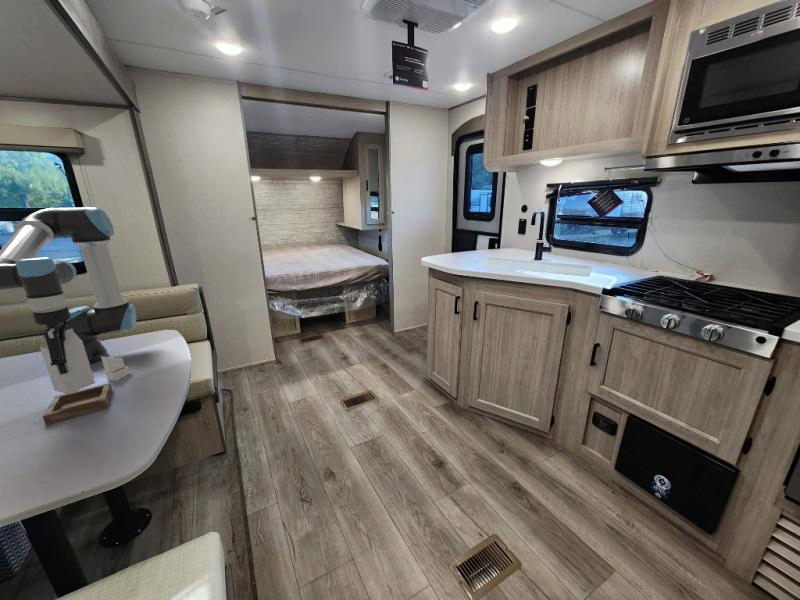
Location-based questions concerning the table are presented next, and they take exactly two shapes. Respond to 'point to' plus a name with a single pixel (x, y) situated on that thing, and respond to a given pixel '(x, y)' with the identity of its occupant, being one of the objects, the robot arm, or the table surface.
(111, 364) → the white angled block
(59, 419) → the square wooden tray
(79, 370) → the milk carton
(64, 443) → the table surface
